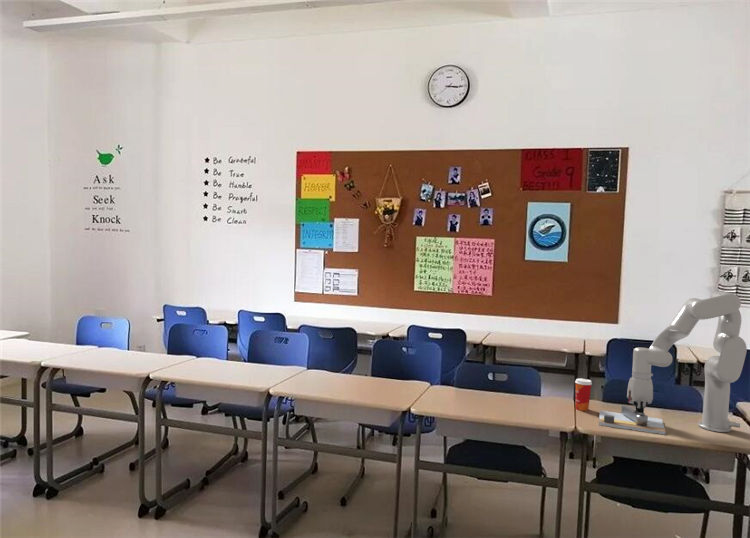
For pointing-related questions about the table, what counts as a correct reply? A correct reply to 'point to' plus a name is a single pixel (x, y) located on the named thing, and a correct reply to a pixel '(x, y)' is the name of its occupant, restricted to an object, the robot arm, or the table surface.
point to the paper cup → (583, 394)
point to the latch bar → (635, 415)
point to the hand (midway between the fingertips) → (639, 416)
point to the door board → (630, 422)
